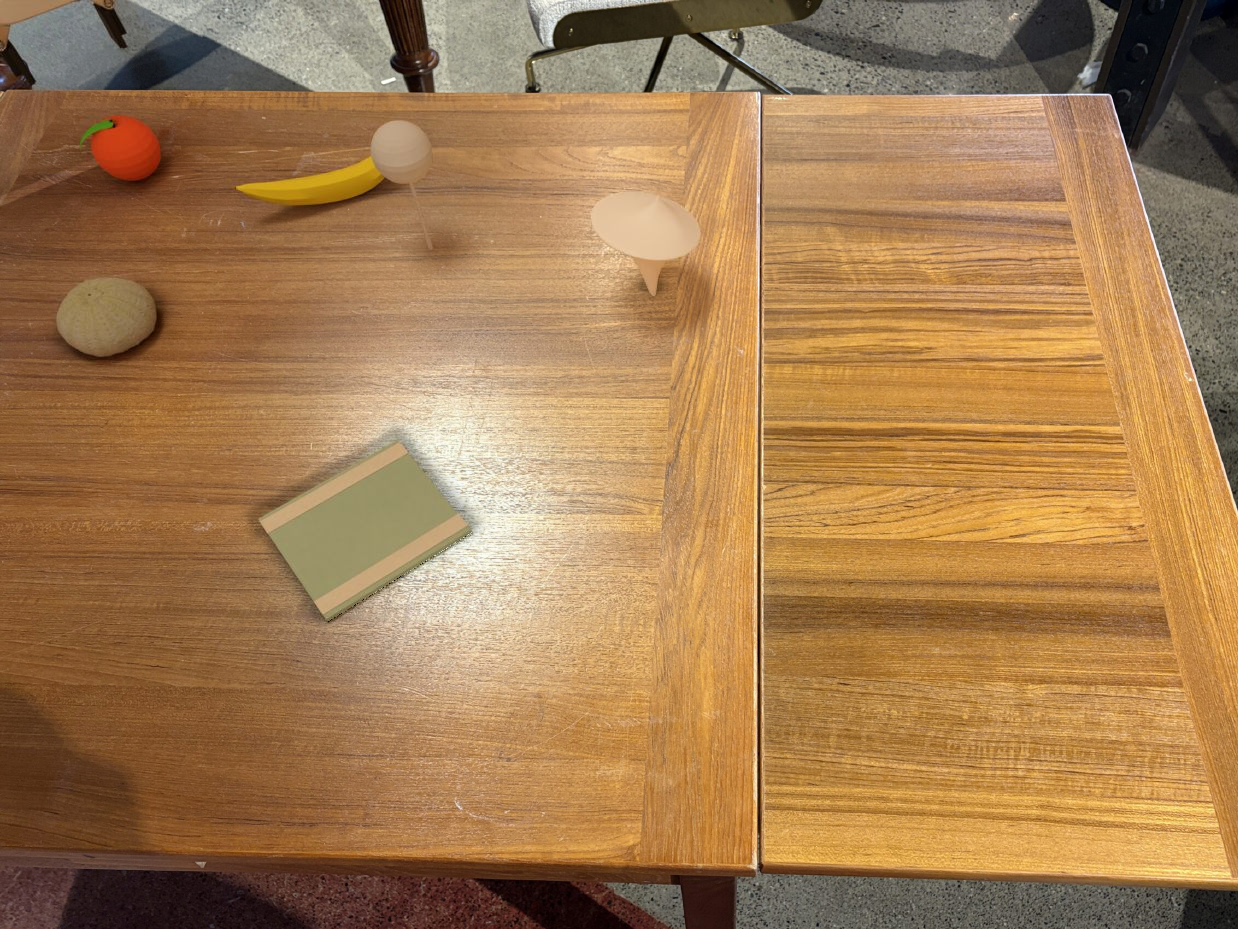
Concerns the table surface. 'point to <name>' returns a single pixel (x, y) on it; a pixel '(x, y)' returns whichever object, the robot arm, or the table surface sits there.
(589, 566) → the table surface
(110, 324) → the sea urchin shell
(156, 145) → the clementine
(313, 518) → the towel
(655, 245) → the mushroom
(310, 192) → the banana
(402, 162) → the lollipop
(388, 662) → the table surface
